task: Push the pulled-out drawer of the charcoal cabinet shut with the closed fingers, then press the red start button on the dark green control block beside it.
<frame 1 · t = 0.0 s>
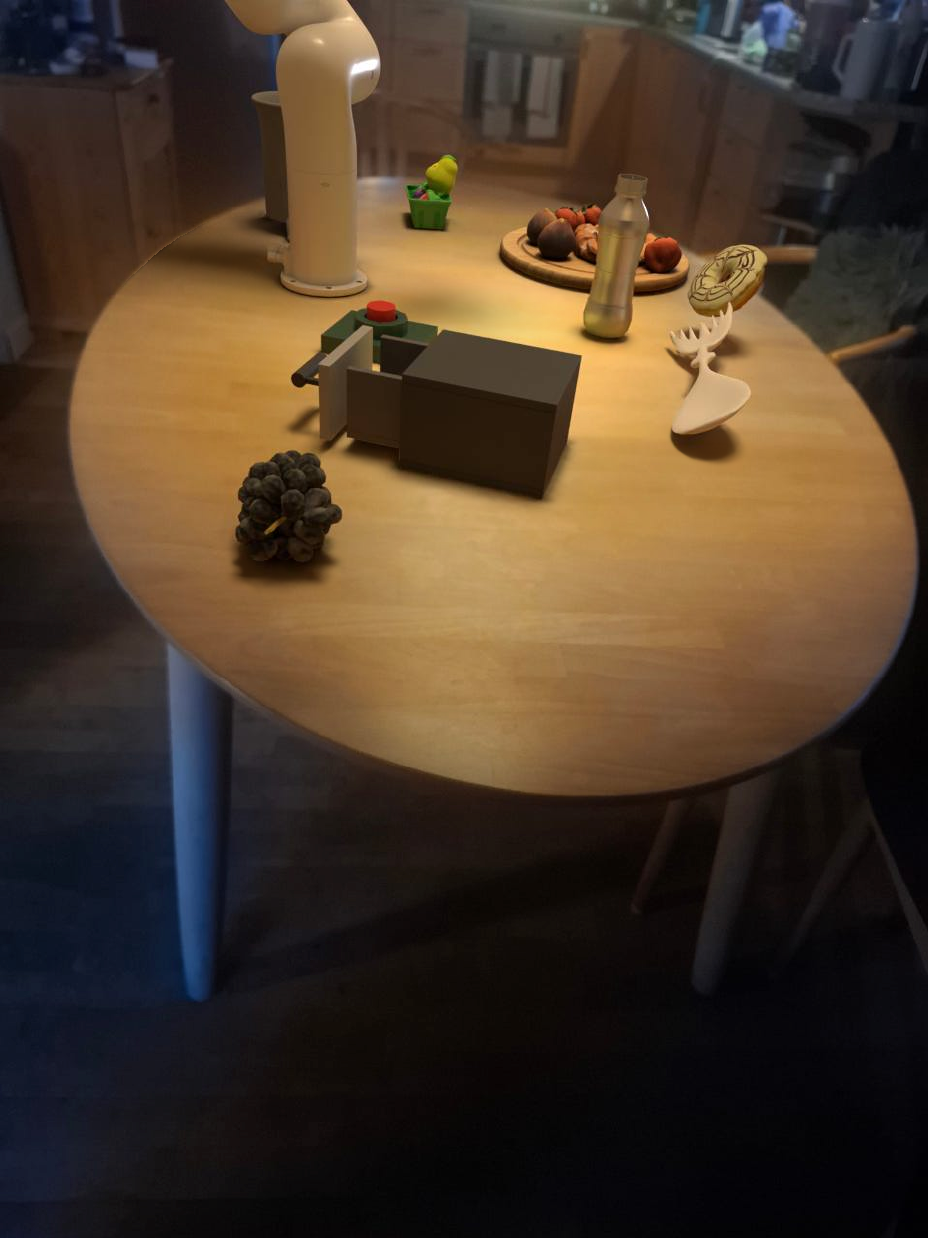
control block: (380, 347, 110), on the table
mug: (302, 228, 149), on the table
start button: (381, 312, 107), point 4 cm above the table, slide at 0.1 cm
decorated donut: (734, 291, 117), point 7 cm above the table, touching cream spork
wooden plate: (592, 265, 146), on the table
fruit: (292, 532, 76), on the table
fruit basket: (429, 223, 158), on the table
cabinet: (486, 454, 89), on the table
cream spork: (713, 383, 104), point 2 cm above the table, touching decorated donut
plastic bottle: (603, 336, 120), on the table
drawer: (383, 389, 88), point 5 cm above the table, slide at 7.5 cm
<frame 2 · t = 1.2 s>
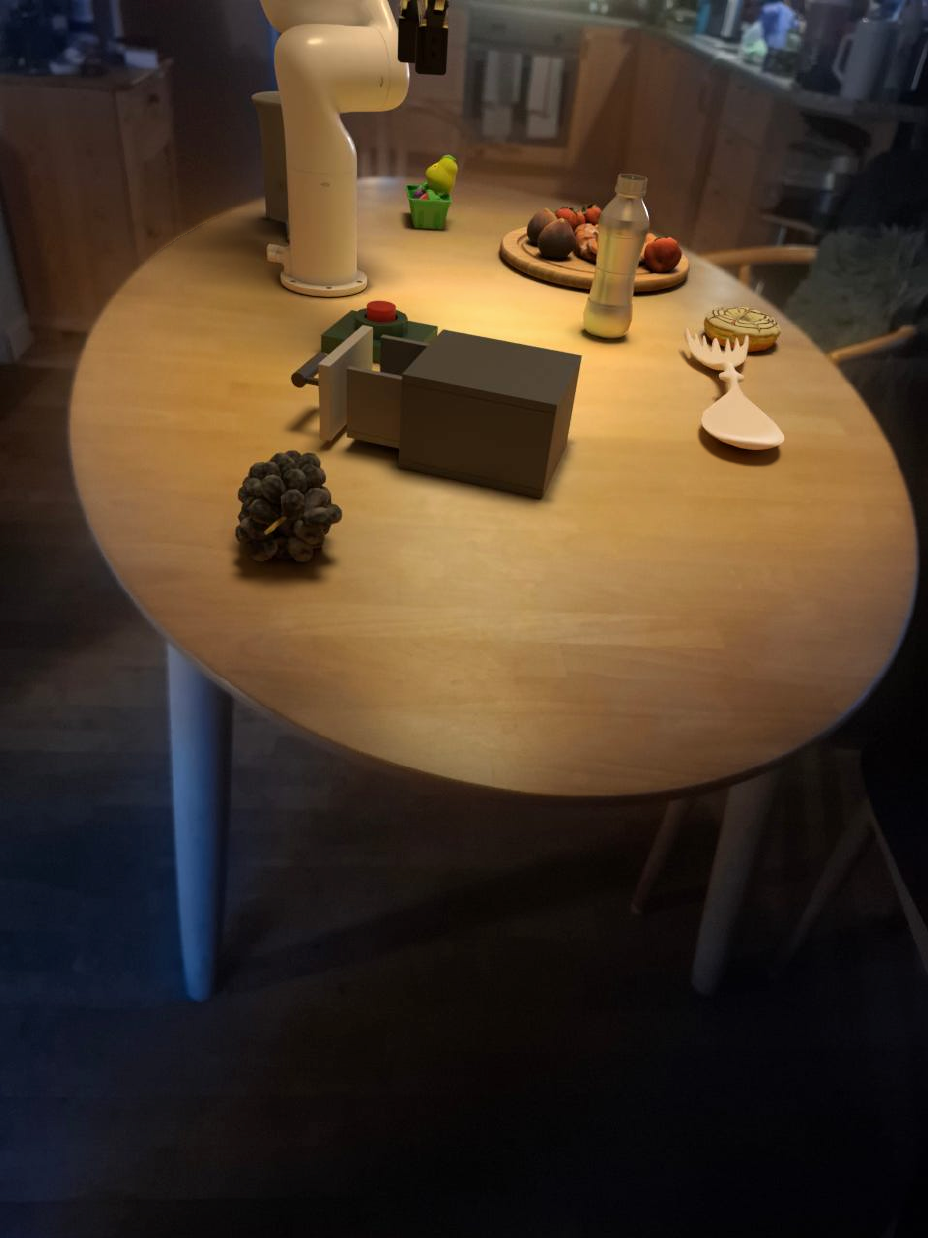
hand: (420, 67, 92), 30 cm above the table, tool pointing down, fingers open, 9 cm apart
decorated donut: (738, 342, 122), on the table
cream spork: (725, 403, 105), on the table
everything else where it was.
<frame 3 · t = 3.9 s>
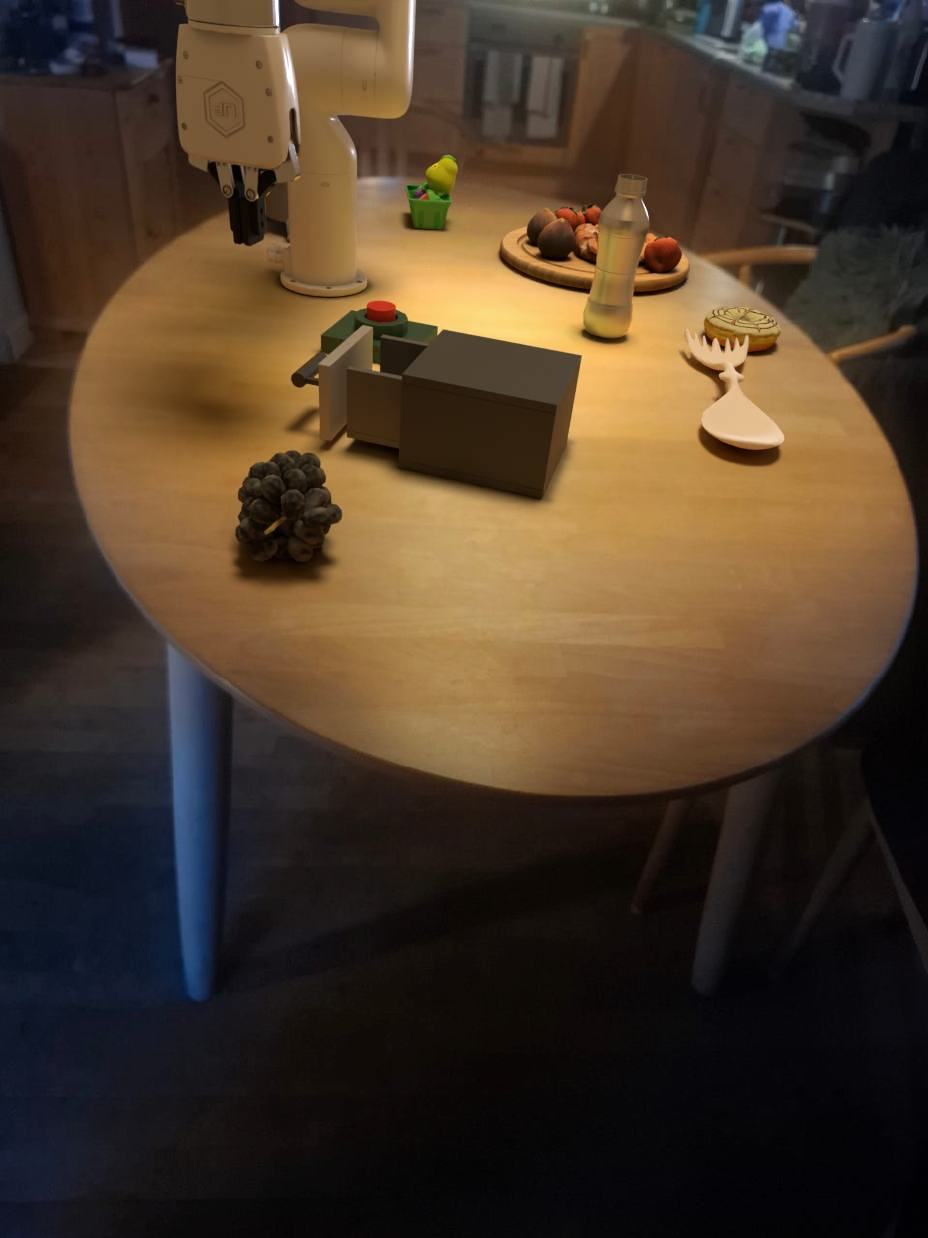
hand: (249, 241, 83), 17 cm above the table, tool pointing down, fingers closed
nothing on the table moved.
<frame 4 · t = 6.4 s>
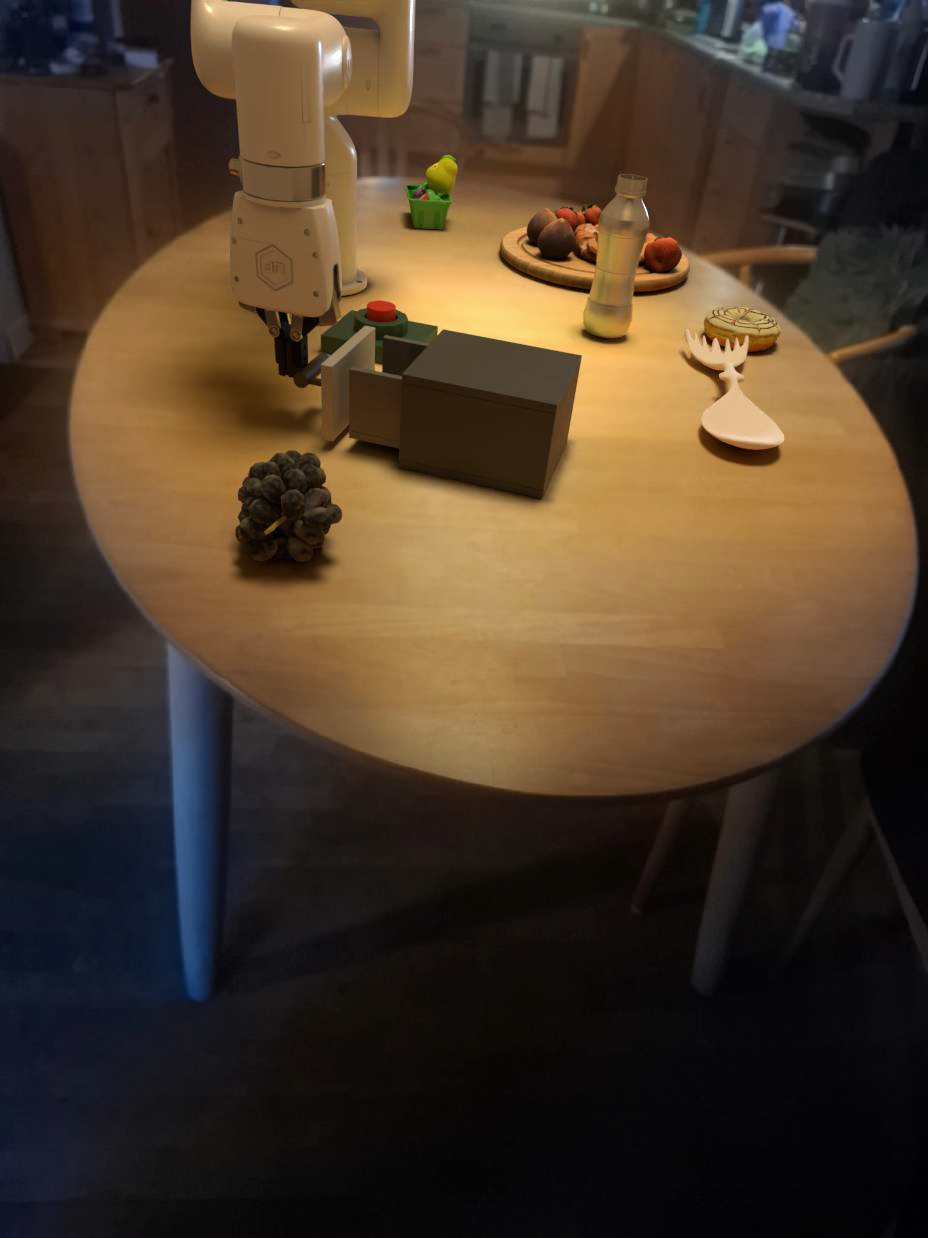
hand: (292, 371, 90), 5 cm above the table, tool pointing down, fingers closed
drawer: (386, 389, 88), point 5 cm above the table, slide at 7.2 cm, touching gripper
everything else where it was.
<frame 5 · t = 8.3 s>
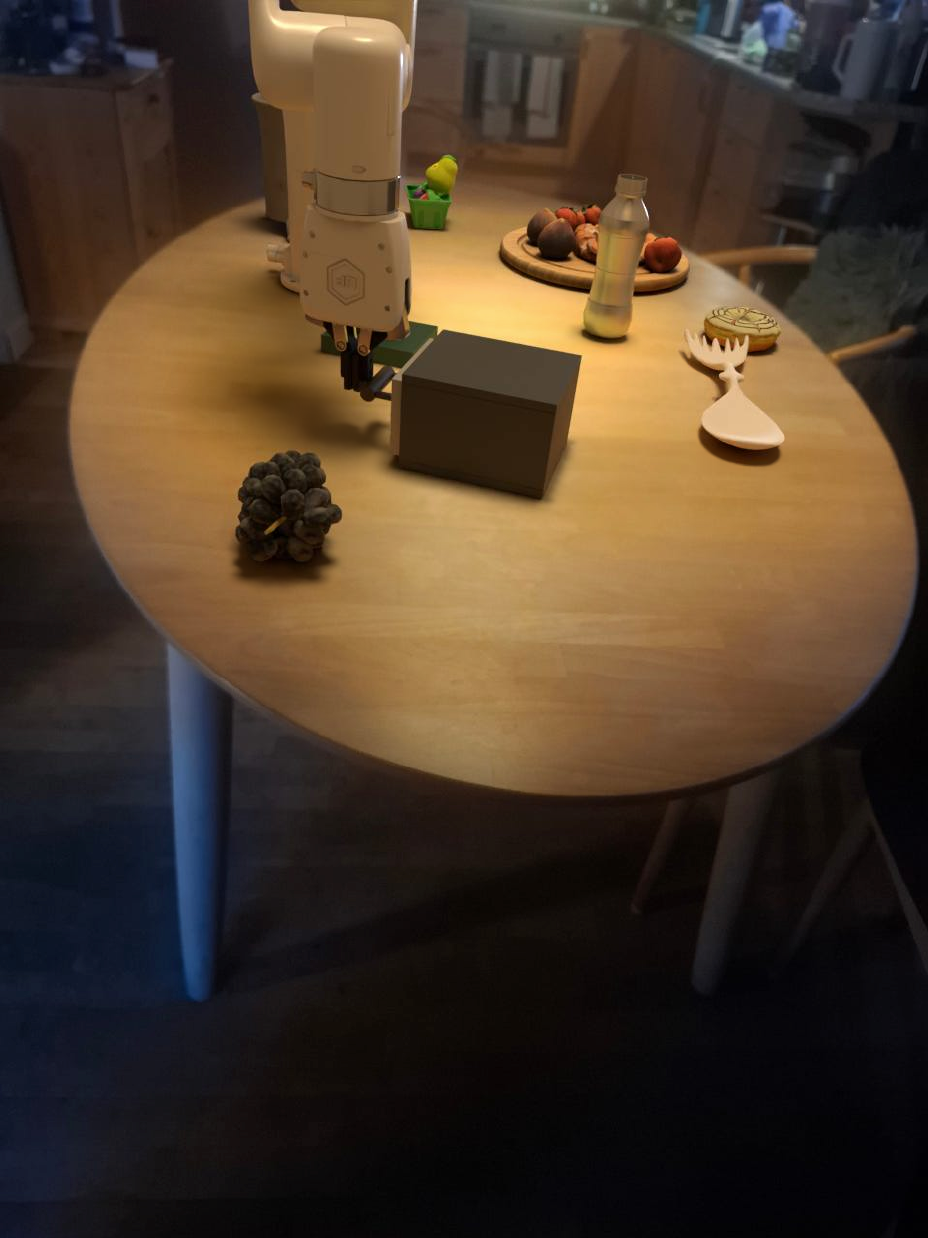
hand: (356, 385, 89), 5 cm above the table, tool pointing down, fingers closed
drawer: (453, 403, 87), point 5 cm above the table, slide at 0.0 cm, touching cabinet, gripper
everything else where it was.
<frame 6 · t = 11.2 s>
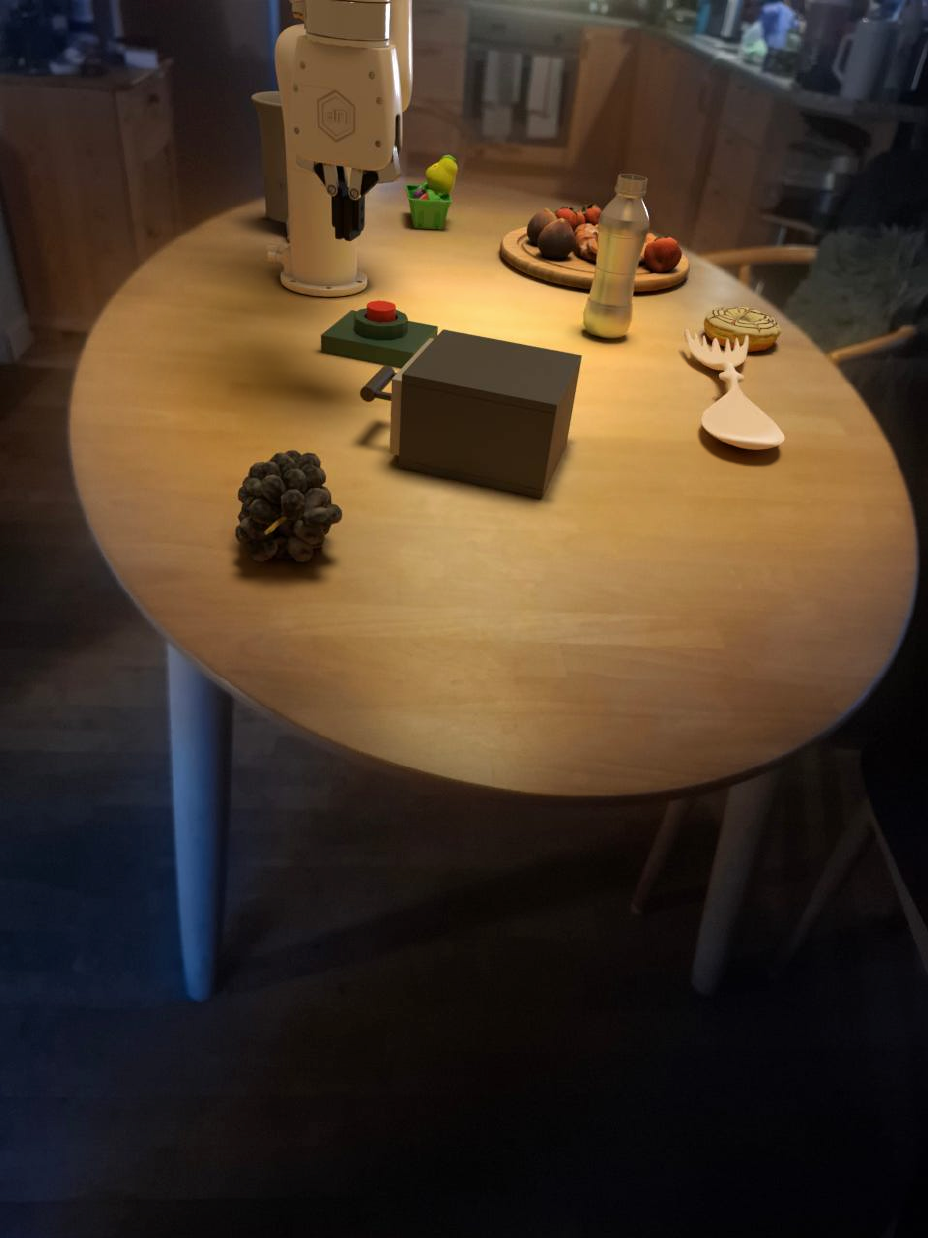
hand: (348, 236, 89), 17 cm above the table, tool pointing down, fingers closed
drawer: (453, 403, 87), point 5 cm above the table, slide at 0.0 cm, touching cabinet
everything else where it was.
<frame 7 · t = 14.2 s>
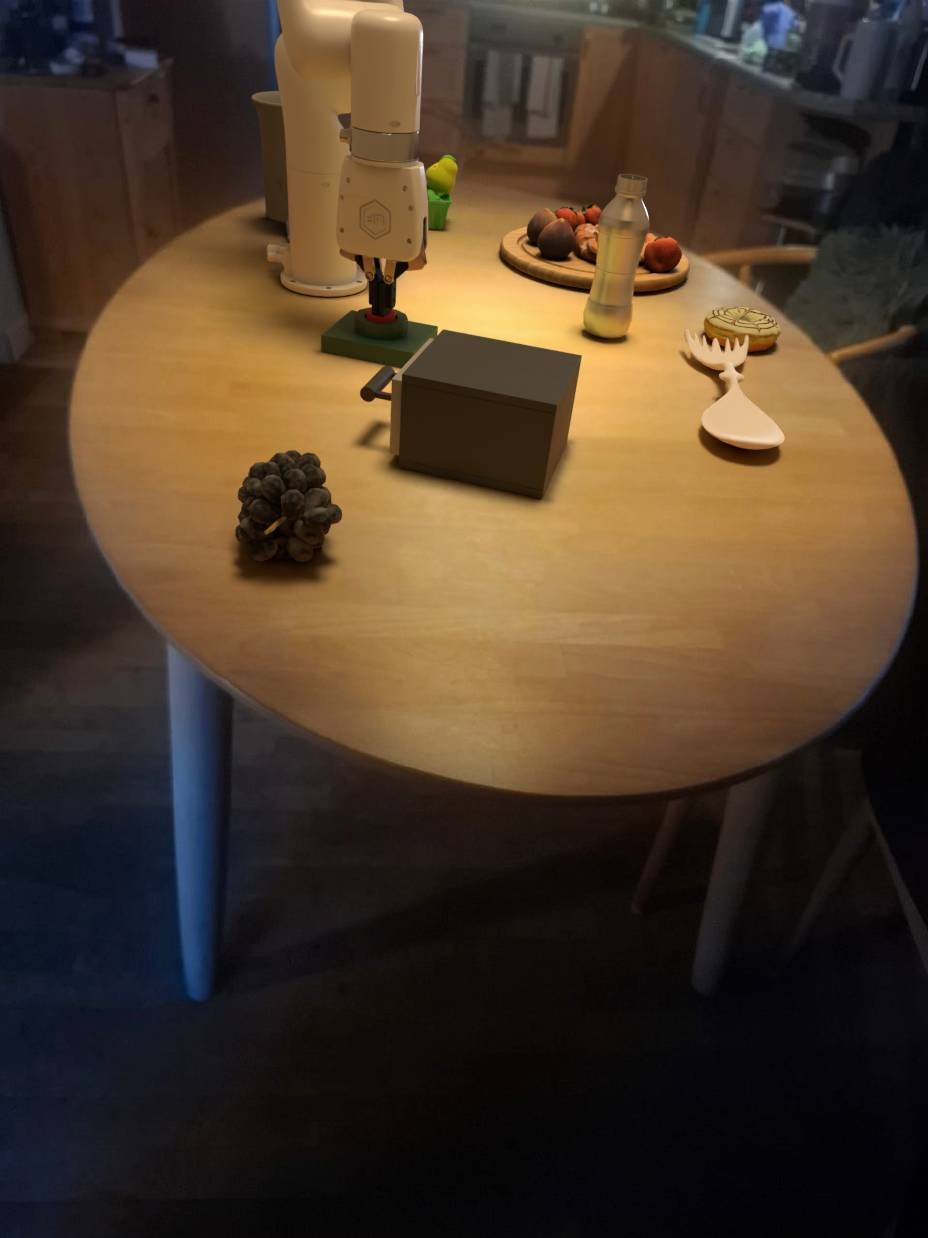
hand: (382, 311, 106), 5 cm above the table, tool pointing down, fingers closed
start button: (381, 318, 107), point 4 cm above the table, slide at -0.7 cm, touching gripper
everything else where it was.
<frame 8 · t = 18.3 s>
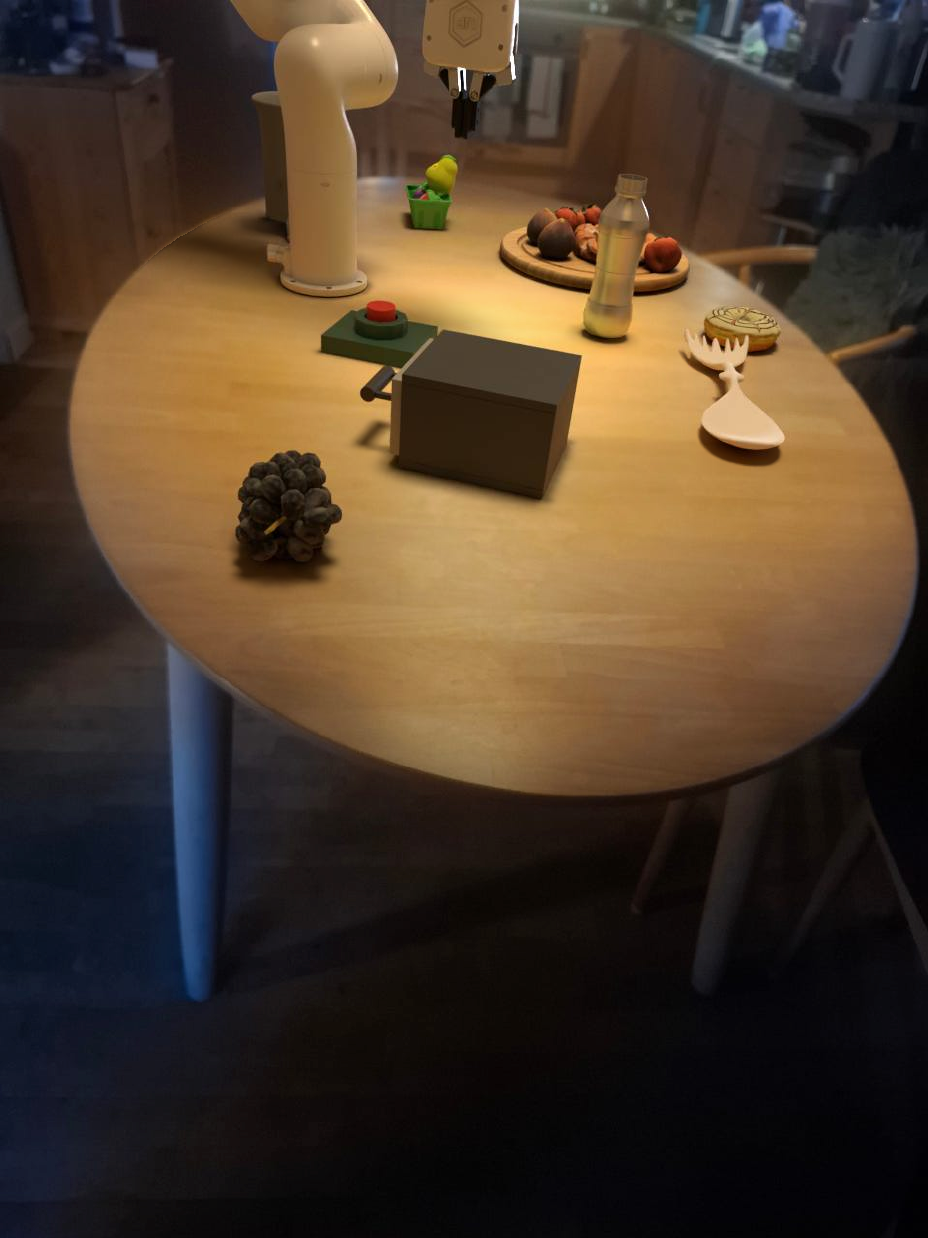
hand: (464, 136, 103), 23 cm above the table, tool pointing down, fingers closed
start button: (381, 312, 107), point 4 cm above the table, slide at 0.1 cm
everything else where it was.
at the end: drawer slide at 0.0 cm; start button pushed in 1.1 cm at the most during the clip, back to where it started at the end; start button slide at 0.1 cm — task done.
